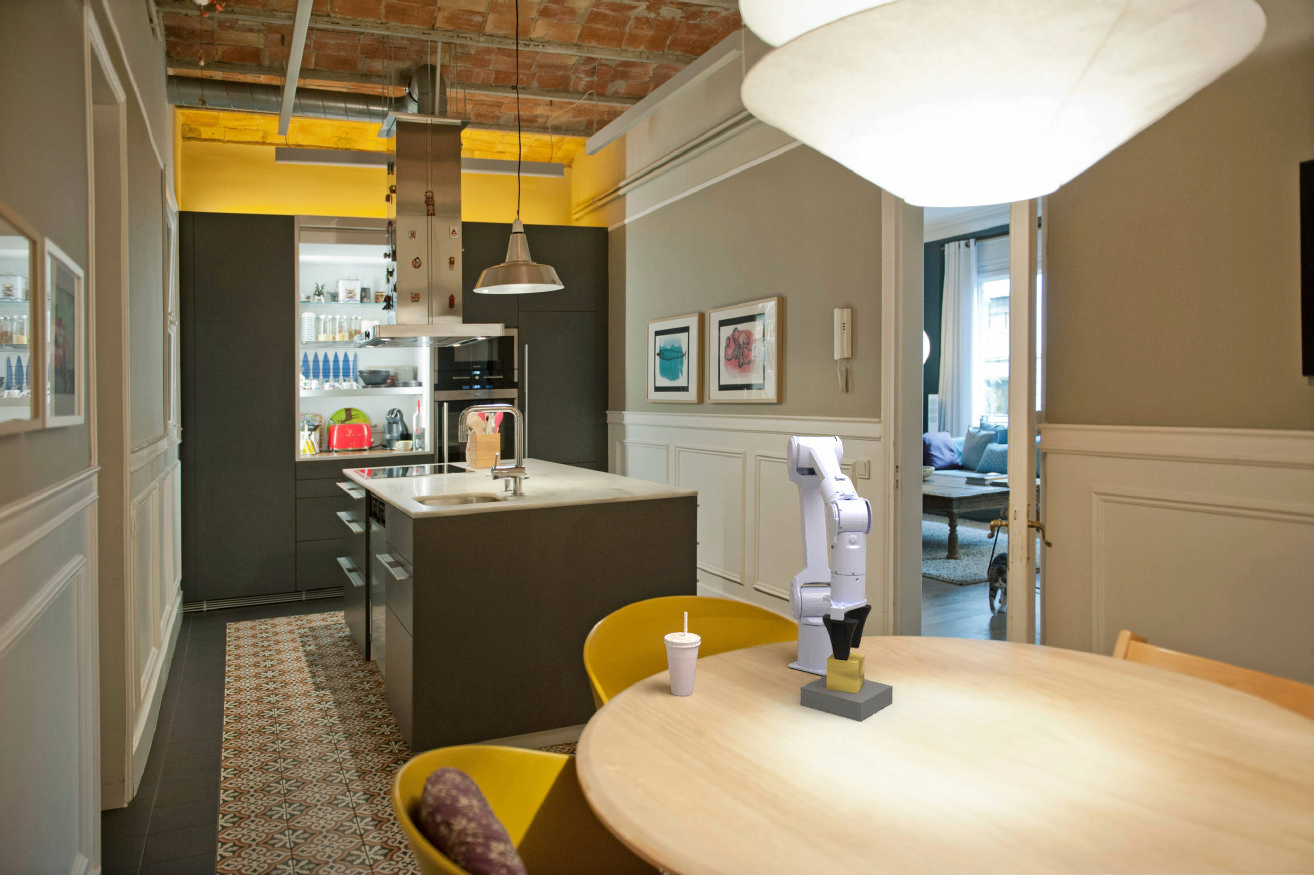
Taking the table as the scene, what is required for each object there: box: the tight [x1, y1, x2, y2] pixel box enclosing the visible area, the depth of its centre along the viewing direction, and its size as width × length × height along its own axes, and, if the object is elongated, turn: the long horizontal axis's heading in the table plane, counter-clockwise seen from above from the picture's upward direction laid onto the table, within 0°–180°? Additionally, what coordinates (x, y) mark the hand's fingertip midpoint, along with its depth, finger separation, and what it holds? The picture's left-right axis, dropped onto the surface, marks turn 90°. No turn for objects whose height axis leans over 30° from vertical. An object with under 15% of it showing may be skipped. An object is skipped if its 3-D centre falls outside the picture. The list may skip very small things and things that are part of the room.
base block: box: [800, 675, 894, 723], centre depth 139 cm, size 11×11×4 cm
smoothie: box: [663, 611, 702, 697], centre depth 144 cm, size 6×6×14 cm
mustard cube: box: [827, 652, 866, 694], centre depth 139 cm, size 5×5×5 cm
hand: (847, 653), depth 139 cm, fingers open, 7 cm apart
